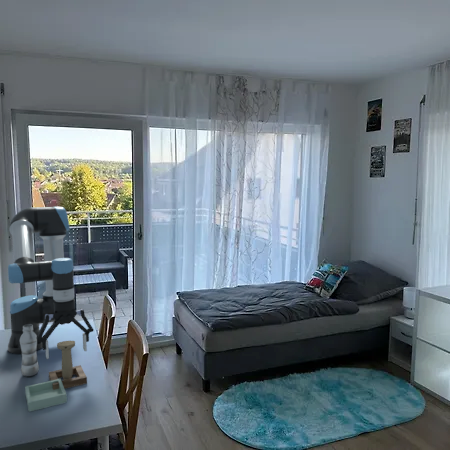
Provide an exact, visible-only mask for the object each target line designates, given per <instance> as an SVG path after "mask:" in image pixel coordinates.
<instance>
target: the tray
mask: <svg viewBox="0 0 450 450" xmlns="http://www.w3.org/2000/svg"><path fill="white" fill-rule="evenodd" d="M62 381H63V380H62V379H61V378H58V379H57V380H52V381H50V380H48V381H44V382H39V383H36V384H31V385H25V387H24V388H25V390H24V391H25V398H26V404H27V410H28V412H29V413H30V412H34V411H38V410H42V409H46V408H49V407H54V406H58V405H62V404H65V403H67V402H68V401H67V400H68V399H67V398H68V397H67V396H68V395H67V391H66V389H64V386H63V384H62ZM56 382H58V383H59V389H55V390H53V385H52V383H56Z"/></svg>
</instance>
